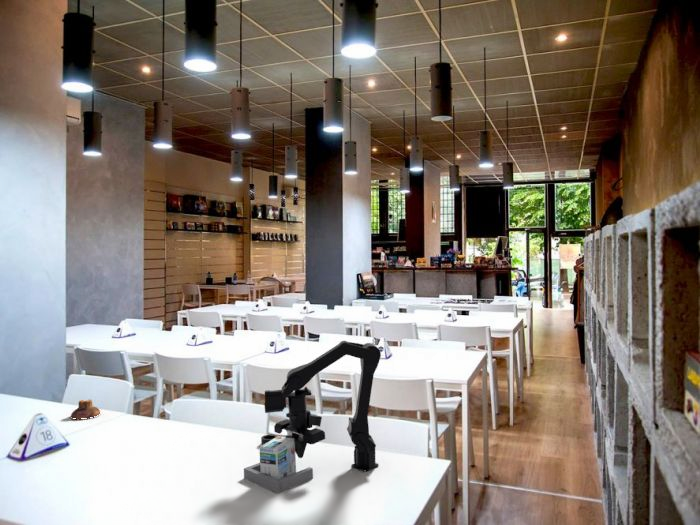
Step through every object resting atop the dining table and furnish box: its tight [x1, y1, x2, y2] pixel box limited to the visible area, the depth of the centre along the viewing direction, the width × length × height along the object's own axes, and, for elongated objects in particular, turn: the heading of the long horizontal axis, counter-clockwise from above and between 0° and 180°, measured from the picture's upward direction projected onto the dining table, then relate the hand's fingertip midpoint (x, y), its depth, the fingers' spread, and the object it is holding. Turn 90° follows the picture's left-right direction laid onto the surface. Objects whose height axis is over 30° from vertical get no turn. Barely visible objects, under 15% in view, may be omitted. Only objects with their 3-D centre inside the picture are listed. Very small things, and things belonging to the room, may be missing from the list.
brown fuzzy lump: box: [70, 398, 101, 419], centre depth 232 cm, size 12×12×7 cm
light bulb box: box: [258, 436, 297, 480], centre depth 165 cm, size 11×7×11 cm, turn 156°
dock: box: [243, 462, 314, 494], centre depth 164 cm, size 16×14×3 cm
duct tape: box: [260, 434, 278, 445], centre depth 194 cm, size 8×10×3 cm
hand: (300, 457), depth 171 cm, fingers closed, pressing on light bulb box
